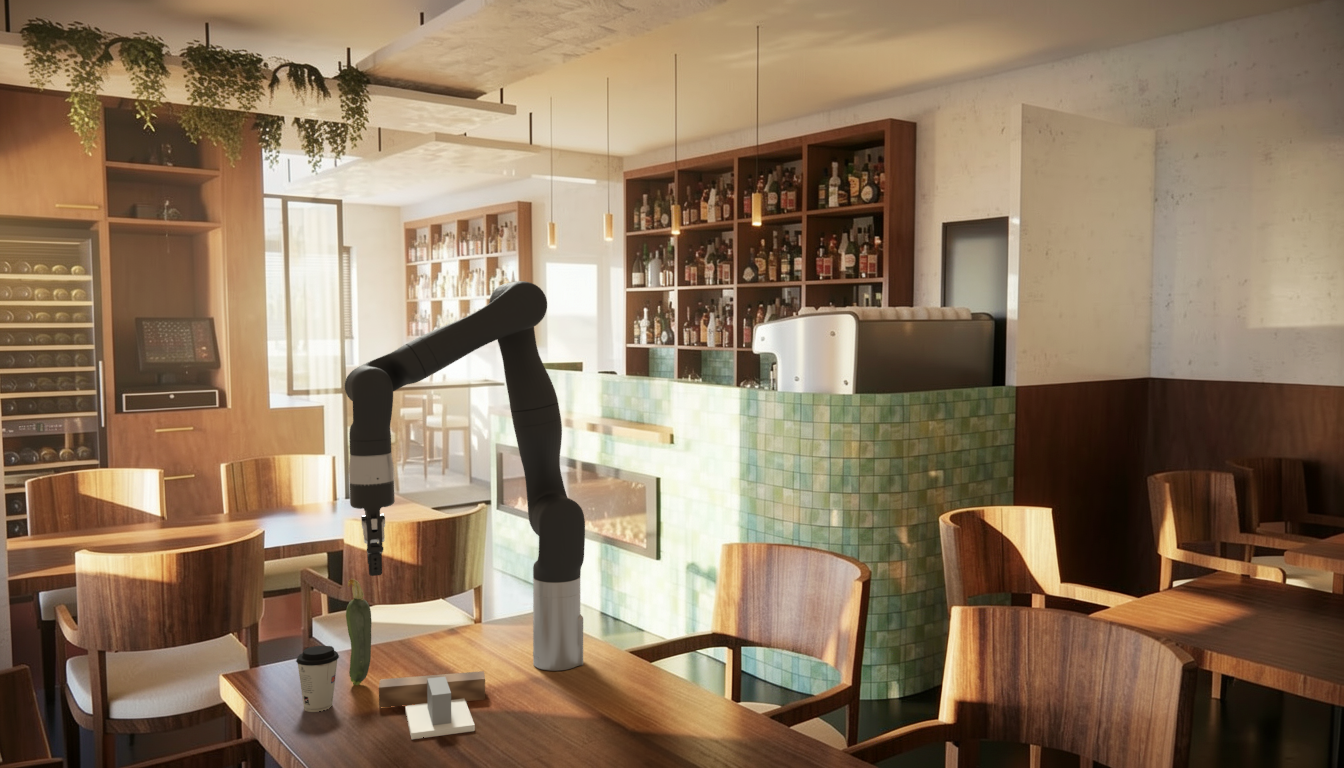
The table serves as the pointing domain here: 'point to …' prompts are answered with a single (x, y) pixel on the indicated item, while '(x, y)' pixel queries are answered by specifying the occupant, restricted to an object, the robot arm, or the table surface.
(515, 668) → the table surface
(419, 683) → the beam
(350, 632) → the vegetable
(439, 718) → the fulcrum
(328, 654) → the coffee cup
